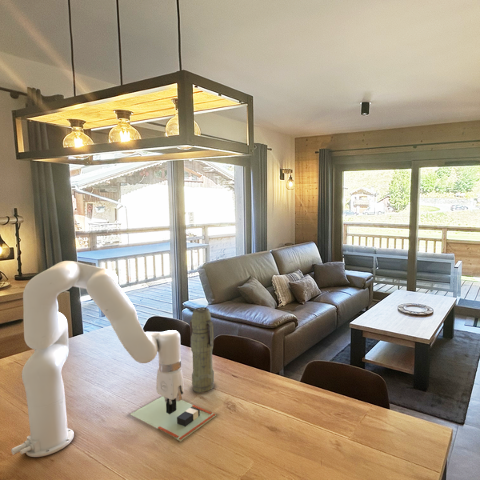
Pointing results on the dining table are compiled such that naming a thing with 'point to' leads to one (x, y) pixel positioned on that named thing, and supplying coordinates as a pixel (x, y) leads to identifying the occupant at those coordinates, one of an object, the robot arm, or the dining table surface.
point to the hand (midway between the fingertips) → (171, 411)
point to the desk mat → (171, 418)
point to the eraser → (188, 416)
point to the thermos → (202, 349)
